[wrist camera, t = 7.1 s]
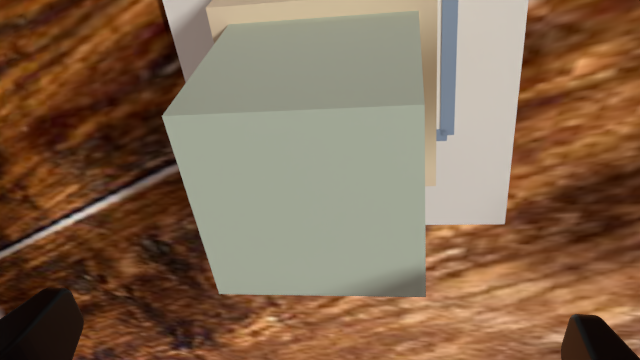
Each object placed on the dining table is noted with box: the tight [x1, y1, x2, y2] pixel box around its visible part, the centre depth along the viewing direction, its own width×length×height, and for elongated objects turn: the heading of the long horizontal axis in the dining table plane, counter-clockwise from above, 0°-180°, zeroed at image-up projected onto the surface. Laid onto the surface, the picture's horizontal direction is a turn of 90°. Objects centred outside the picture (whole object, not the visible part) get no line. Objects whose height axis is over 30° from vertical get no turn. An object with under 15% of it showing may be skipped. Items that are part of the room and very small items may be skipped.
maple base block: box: [206, 0, 438, 186], centre depth 17 cm, size 6×6×4 cm
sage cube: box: [162, 10, 426, 297], centre depth 14 cm, size 5×5×5 cm
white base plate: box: [162, 0, 528, 225], centre depth 19 cm, size 16×12×1 cm
